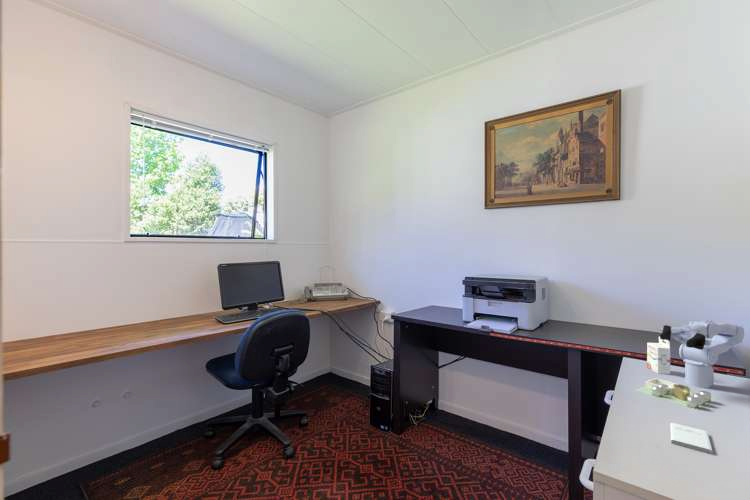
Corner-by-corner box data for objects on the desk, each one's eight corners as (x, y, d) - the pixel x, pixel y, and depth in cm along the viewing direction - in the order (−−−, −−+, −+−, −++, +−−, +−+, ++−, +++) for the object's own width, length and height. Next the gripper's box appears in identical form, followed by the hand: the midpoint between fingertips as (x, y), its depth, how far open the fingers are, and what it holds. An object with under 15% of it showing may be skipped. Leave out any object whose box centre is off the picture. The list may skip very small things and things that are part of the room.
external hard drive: (670, 445, 96) (670, 427, 106) (712, 456, 91) (707, 436, 100) (671, 439, 96) (670, 421, 106) (712, 450, 91) (707, 430, 100)
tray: (655, 382, 138) (655, 377, 138) (681, 389, 131) (681, 384, 131) (645, 386, 134) (645, 381, 134) (670, 393, 127) (670, 388, 127)
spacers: (666, 388, 132) (666, 380, 132) (712, 401, 120) (712, 393, 120) (650, 394, 126) (650, 386, 126) (696, 409, 115) (696, 400, 114)
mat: (657, 384, 138) (657, 382, 138) (718, 401, 122) (718, 399, 122) (633, 392, 130) (633, 390, 130) (695, 412, 114) (695, 409, 114)
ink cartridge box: (646, 368, 156) (646, 335, 156) (658, 369, 155) (659, 336, 155) (657, 375, 148) (657, 340, 148) (671, 376, 147) (671, 341, 147)
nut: (676, 394, 126) (676, 383, 126) (692, 399, 122) (692, 387, 122) (670, 396, 124) (670, 385, 124) (686, 401, 120) (686, 390, 120)
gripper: (669, 317, 139) (652, 323, 132) (717, 329, 126) (701, 336, 119) (666, 335, 140) (649, 341, 133) (715, 348, 127) (698, 356, 120)
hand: (674, 340), depth 126 cm, fingers open, 7 cm apart
